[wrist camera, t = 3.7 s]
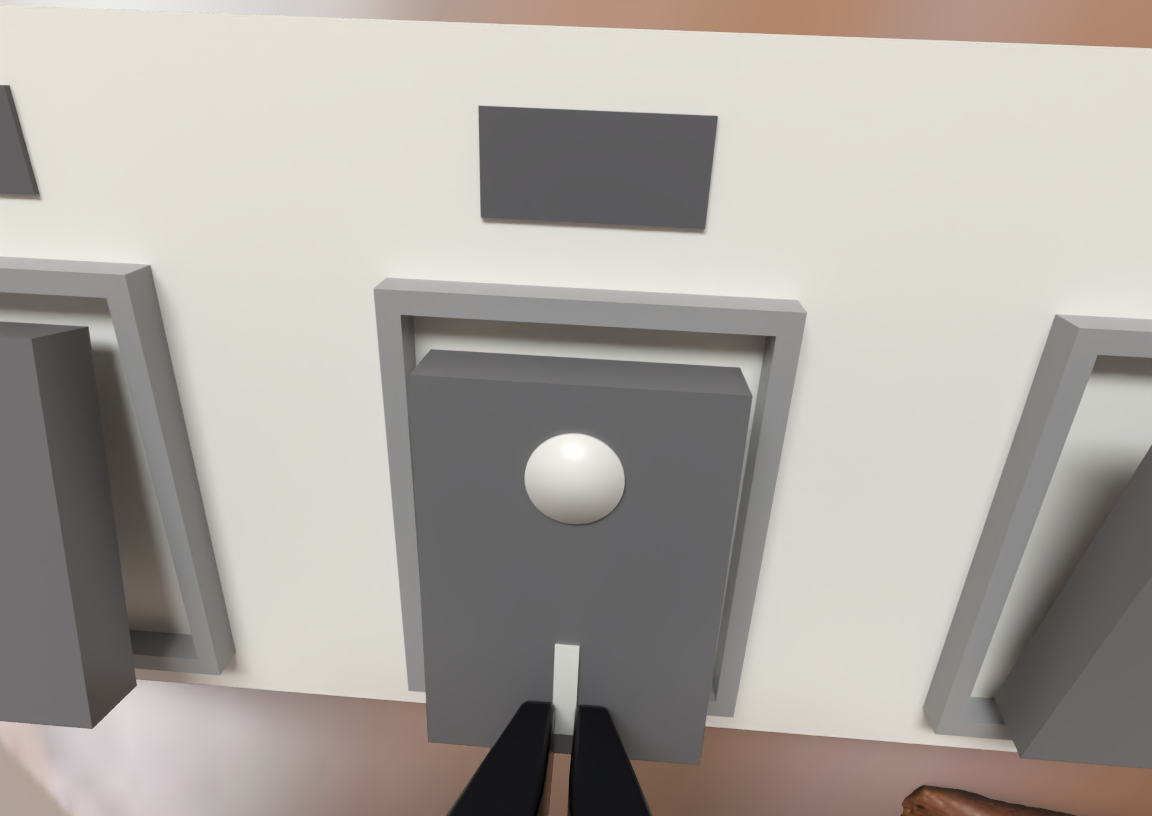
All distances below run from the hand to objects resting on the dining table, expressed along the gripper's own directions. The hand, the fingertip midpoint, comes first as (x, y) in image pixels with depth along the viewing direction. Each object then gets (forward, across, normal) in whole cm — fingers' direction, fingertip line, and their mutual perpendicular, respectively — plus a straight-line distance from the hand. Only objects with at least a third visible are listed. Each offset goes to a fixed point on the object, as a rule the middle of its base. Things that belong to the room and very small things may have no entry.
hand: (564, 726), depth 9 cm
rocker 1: (0, +8, -2) cm, 8 cm away
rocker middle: (0, 0, -2) cm, 2 cm away
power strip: (+5, -3, -3) cm, 6 cm away
